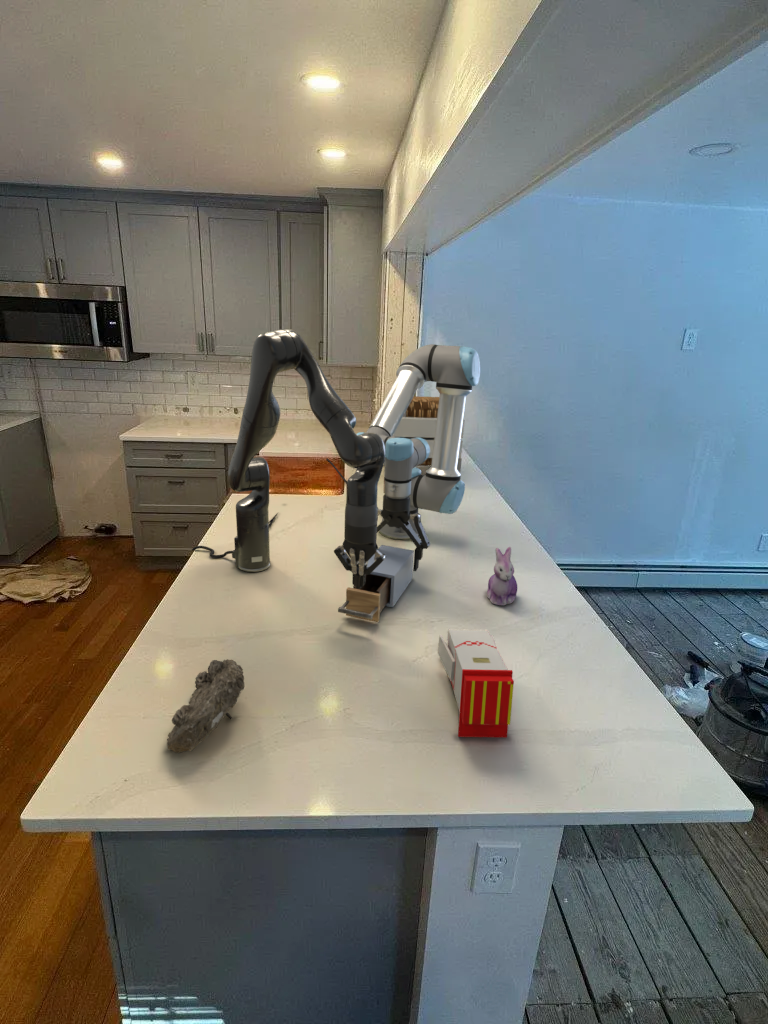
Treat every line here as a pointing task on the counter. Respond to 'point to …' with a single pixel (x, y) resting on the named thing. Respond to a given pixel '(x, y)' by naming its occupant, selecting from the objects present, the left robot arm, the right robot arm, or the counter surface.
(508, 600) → the figurine
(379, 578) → the drawer
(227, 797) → the counter surface
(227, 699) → the fossil
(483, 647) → the toy
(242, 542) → the left robot arm
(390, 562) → the cabinet
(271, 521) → the feather
